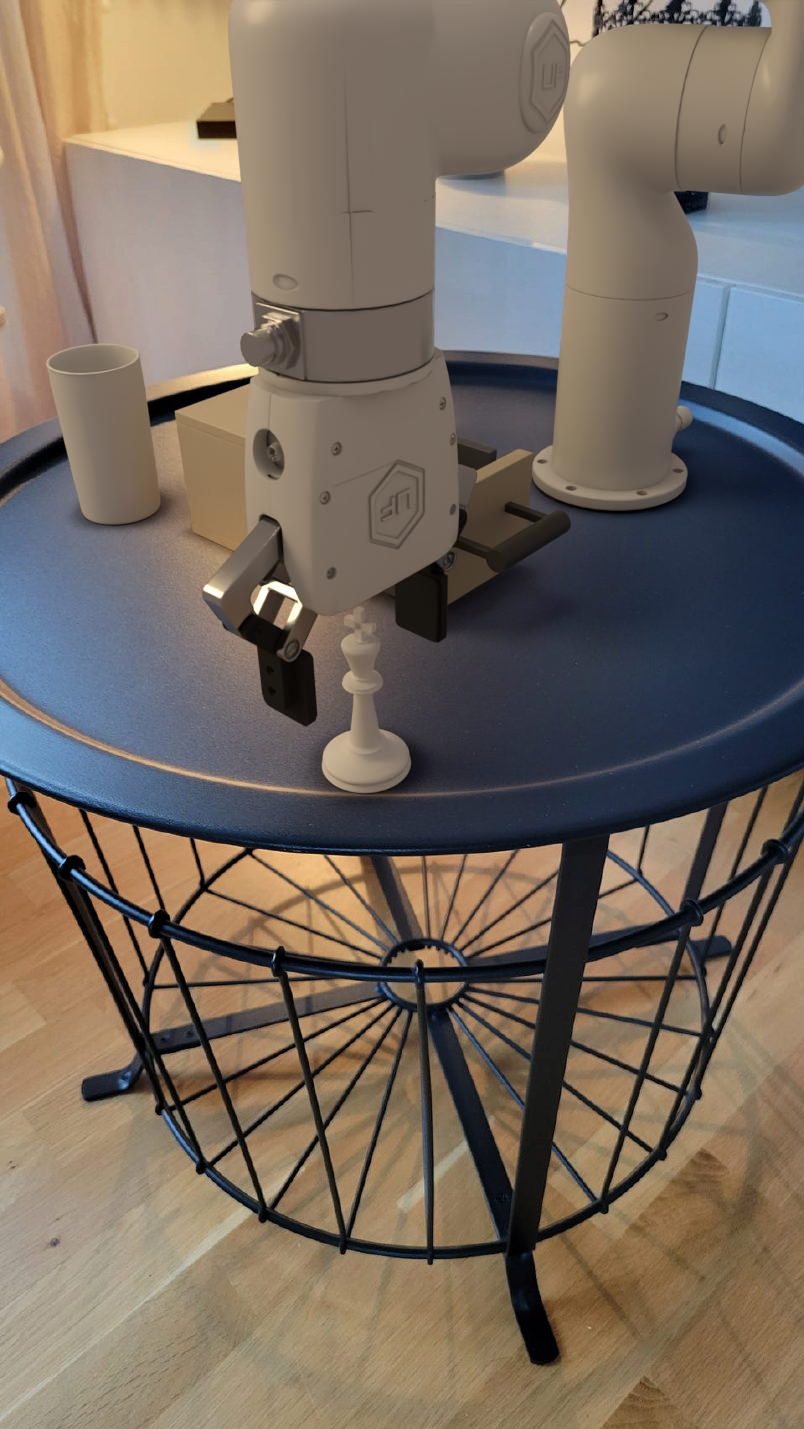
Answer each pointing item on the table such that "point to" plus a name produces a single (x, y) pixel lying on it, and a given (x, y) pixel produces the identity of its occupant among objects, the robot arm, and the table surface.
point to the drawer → (498, 518)
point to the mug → (106, 431)
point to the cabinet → (216, 465)
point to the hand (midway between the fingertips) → (359, 670)
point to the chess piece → (364, 722)
